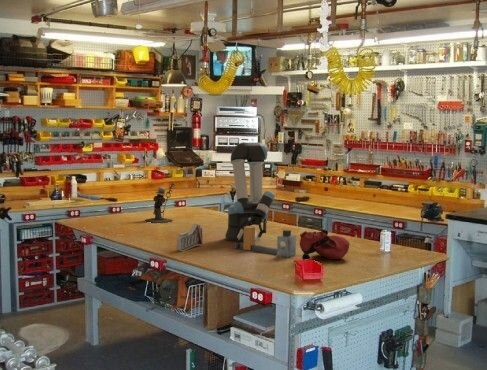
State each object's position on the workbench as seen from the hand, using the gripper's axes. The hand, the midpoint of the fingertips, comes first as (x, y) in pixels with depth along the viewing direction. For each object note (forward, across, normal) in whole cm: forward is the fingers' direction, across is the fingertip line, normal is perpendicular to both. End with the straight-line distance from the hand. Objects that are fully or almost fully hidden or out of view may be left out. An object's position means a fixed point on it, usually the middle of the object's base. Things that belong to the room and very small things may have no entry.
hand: (246, 239), depth 374 cm
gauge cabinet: (+3, +26, +6) cm, 27 cm away
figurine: (-28, -114, +38) cm, 123 cm away
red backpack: (-1, +47, +11) cm, 49 cm away
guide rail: (+3, +8, +6) cm, 10 cm away
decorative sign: (+17, -30, -8) cm, 36 cm away
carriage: (+3, 0, +6) cm, 7 cm away
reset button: (-4, +26, 0) cm, 27 cm away
